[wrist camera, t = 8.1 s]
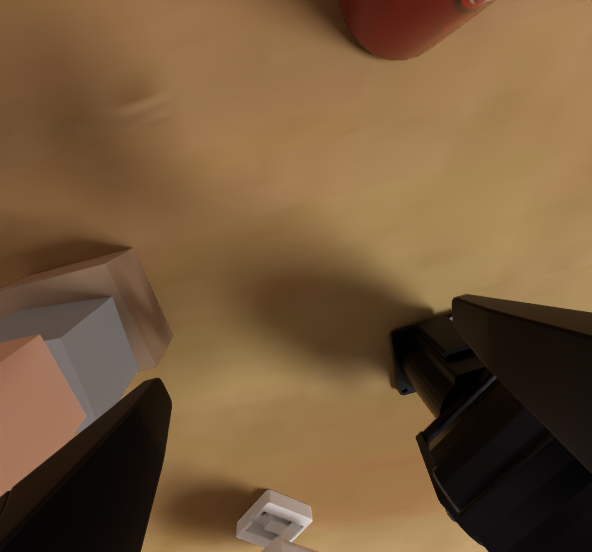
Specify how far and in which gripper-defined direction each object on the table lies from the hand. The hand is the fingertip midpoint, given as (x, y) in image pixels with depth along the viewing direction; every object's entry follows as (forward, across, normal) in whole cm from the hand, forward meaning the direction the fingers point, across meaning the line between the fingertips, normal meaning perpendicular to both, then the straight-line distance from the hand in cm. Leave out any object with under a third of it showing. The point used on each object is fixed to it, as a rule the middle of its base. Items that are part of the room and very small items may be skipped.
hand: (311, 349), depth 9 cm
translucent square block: (+13, +13, +1) cm, 18 cm away
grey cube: (+9, +13, +1) cm, 16 cm away
